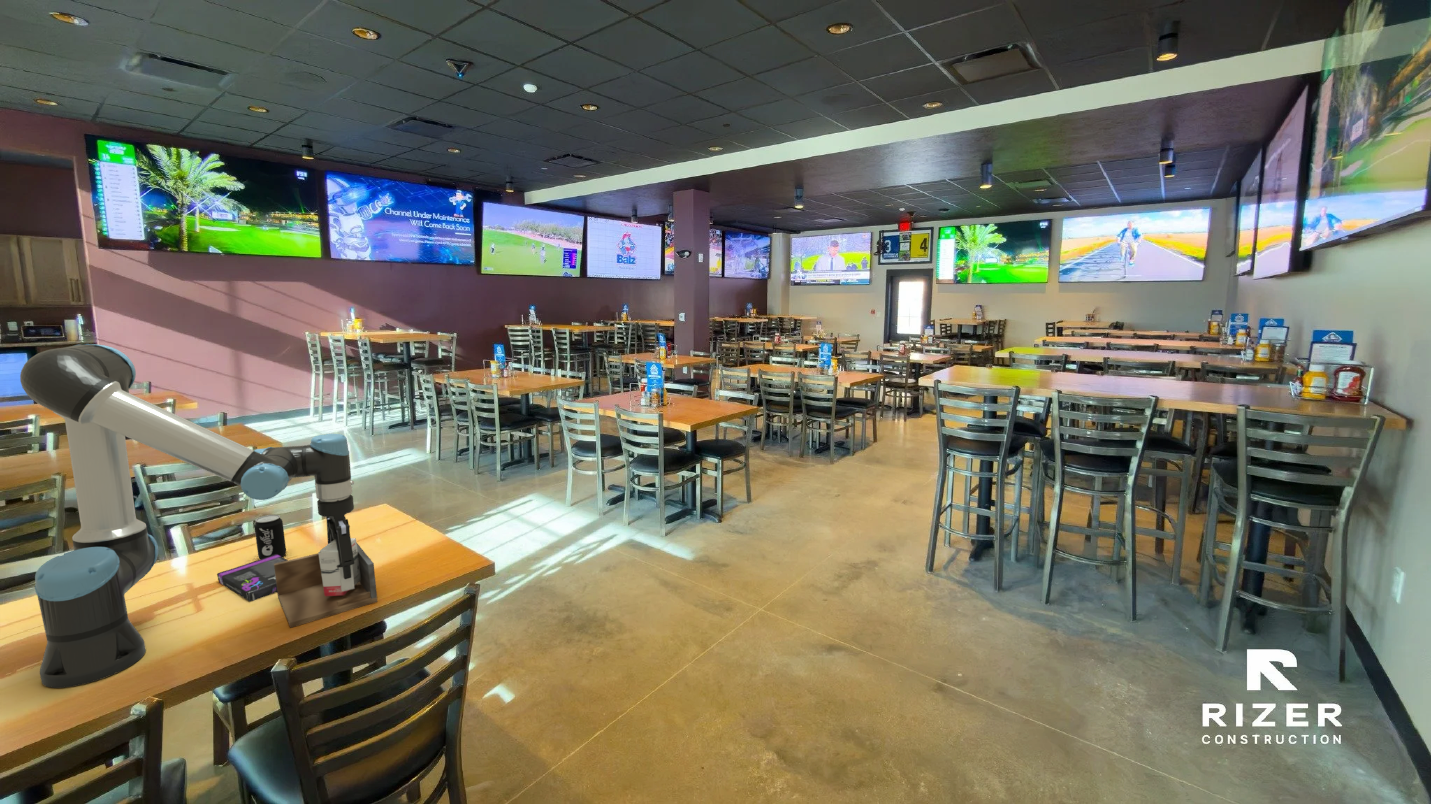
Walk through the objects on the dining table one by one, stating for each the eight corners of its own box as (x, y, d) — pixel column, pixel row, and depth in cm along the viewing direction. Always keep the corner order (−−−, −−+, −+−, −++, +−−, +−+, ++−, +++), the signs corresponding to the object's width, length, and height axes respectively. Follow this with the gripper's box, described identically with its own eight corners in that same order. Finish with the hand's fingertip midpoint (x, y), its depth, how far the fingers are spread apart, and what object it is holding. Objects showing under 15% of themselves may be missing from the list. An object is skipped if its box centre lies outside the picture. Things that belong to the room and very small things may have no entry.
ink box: (344, 596, 149) (338, 551, 147) (323, 596, 149) (317, 551, 147) (361, 579, 158) (356, 536, 156) (342, 580, 158) (336, 537, 155)
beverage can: (290, 556, 177) (286, 516, 175) (264, 564, 172) (259, 524, 170) (280, 550, 181) (275, 512, 179) (254, 558, 175) (249, 519, 173)
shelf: (290, 627, 140) (285, 586, 138) (277, 597, 153) (273, 559, 152) (377, 601, 152) (373, 563, 150) (358, 575, 165) (354, 540, 164)
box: (218, 585, 162) (249, 604, 151) (216, 572, 161) (247, 591, 150) (278, 565, 173) (310, 582, 162) (276, 553, 172) (308, 569, 162)
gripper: (363, 505, 144) (371, 593, 148) (342, 483, 160) (349, 564, 164) (326, 512, 139) (335, 603, 143) (308, 489, 155) (317, 572, 159)
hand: (343, 582), depth 153 cm, fingers closed on ink box, 9 cm apart
